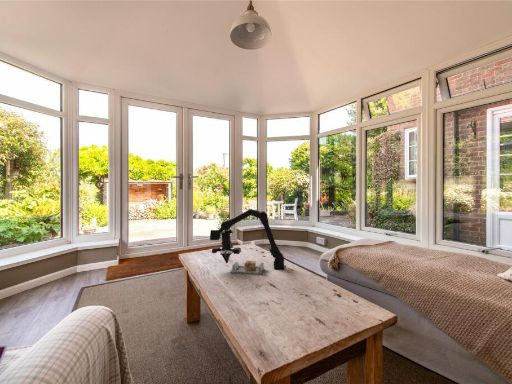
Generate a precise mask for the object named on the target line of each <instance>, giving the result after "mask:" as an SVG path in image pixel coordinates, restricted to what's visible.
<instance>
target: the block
mask: <svg viewBox="0 0 512 384" xmlns="http://www.w3.org/2000/svg"><path fill="white" fill-rule="evenodd" d="M244 266H245V271H255V269H256V266H257V265H256V260H246V261H245V262H244Z"/></svg>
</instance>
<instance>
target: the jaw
mask: <svg viewBox="0 0 512 384" xmlns="http://www.w3.org/2000/svg"><path fill="white" fill-rule="evenodd" d="M239 265H240V264H239V262H238V261H236V262H234V263H233V264H232V265H231V267H232V269H231V270H236V269H237V268H238V266H239Z"/></svg>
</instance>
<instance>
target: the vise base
mask: <svg viewBox="0 0 512 384" xmlns="http://www.w3.org/2000/svg"><path fill="white" fill-rule="evenodd" d="M264 267H265V265H264V262H260V264H259V265H258V266H257V265H256V269H255V271H245V265H240V264H239V266H238V268H237V269H236V270H232V269H230V274H243V275H262V274H263V271H264V270H265V268H264Z"/></svg>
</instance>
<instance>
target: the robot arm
mask: <svg viewBox="0 0 512 384" xmlns="http://www.w3.org/2000/svg"><path fill="white" fill-rule="evenodd" d="M248 217H254V218H256V219H257V218H258V219H259V221H260V223H261V224H262V226H263V229H264V231H265V234H266V237H267V239H268V241H269V247H268V250H269V252H270V255H271V257H272V258H274V259H273V270H275V271H276V270H277V271H284V270H285V256H284V254H283V253H282V252H281V249H279V247H278V245H277V243H276V241H275V238H274V235H273V232H272V230H271V229H272V228H271V227H270V224H269V218H268V214H267V212H266V211H265V210H261V211H260V210H256V209H252V208H249V209H247V210H245V211H243V212H242V213H240V214H237V215H235V217H232V218H229V219H226V220H223V221H222V222H221V224H220V227H219V229H211V230H210V232H209V233H210V234H209V240H210V241H219V240H220V239H221V242H220V244H221V247H220V246H215V247H212V249H211V254H217V253H218V252H219V253H220V254H219V255H220V256H221V257H222V258H223V260H224V262H225V264H228V263H229V260H230V258H231V255H232V254H234V255H240V253H242V248H241V247H237V246H236V247H234V242H232V240H231V234H233V233H234V230H232V229H231V228H233V226H234V225H235V224H237V223H239V222H241V221H243V220H245V219H247V218H248Z"/></svg>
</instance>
